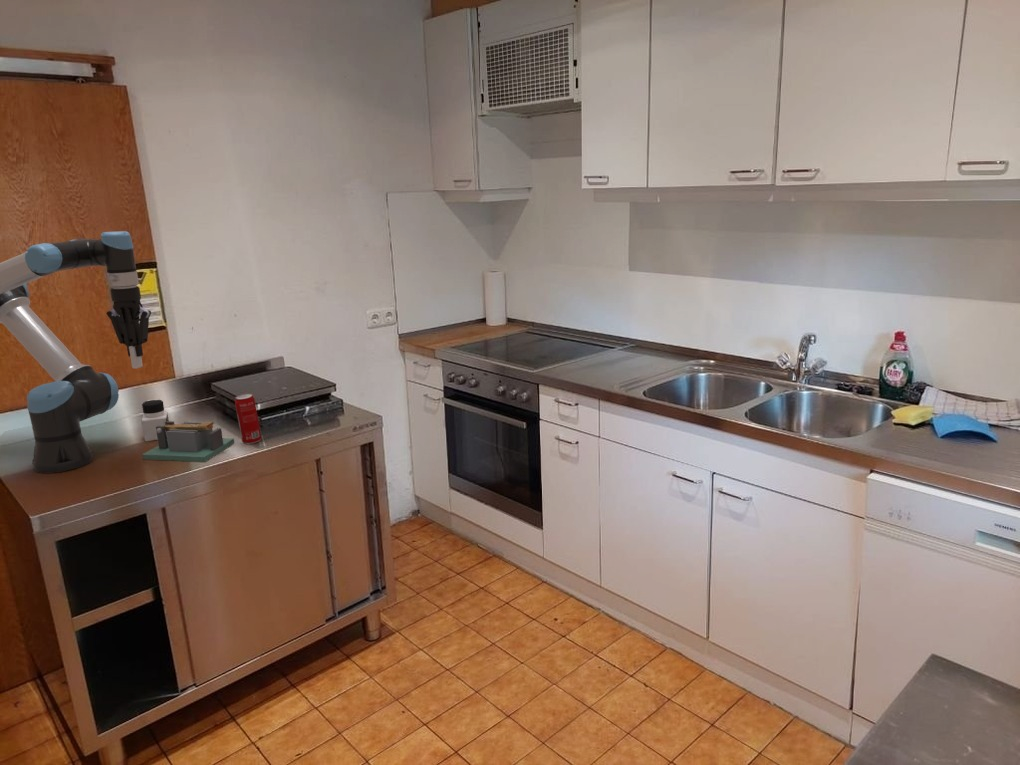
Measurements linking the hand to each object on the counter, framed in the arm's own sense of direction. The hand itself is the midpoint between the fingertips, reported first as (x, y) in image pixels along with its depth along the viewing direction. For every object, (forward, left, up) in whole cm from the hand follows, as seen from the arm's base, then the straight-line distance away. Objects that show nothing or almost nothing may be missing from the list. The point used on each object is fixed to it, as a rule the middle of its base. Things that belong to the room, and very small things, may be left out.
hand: (137, 367), depth 218 cm
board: (+12, +2, -26) cm, 29 cm away
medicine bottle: (-7, +13, -27) cm, 30 cm away
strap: (+12, +2, -19) cm, 23 cm away
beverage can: (+26, +12, -27) cm, 39 cm away
